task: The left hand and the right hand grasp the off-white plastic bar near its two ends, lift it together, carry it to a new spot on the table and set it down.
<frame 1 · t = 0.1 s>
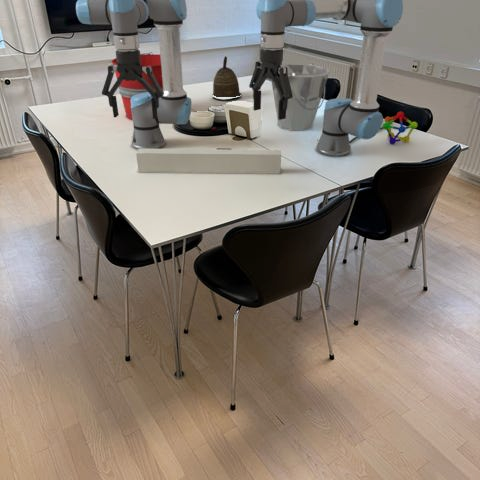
left hand: (135, 117, 150), 28 cm above the table, tool pointing down, fingers open, 13 cm apart
right hand: (269, 114, 154), 28 cm above the table, tool pointing down, fingers open, 13 cm apart
bell: (226, 97, 281), on the table
educational toy: (395, 143, 211), on the table
bucket 2: (148, 114, 248), on the table
smartphone: (223, 156, 195), on the table
bucket: (295, 125, 233), on the table
bar: (209, 170, 182), on the table
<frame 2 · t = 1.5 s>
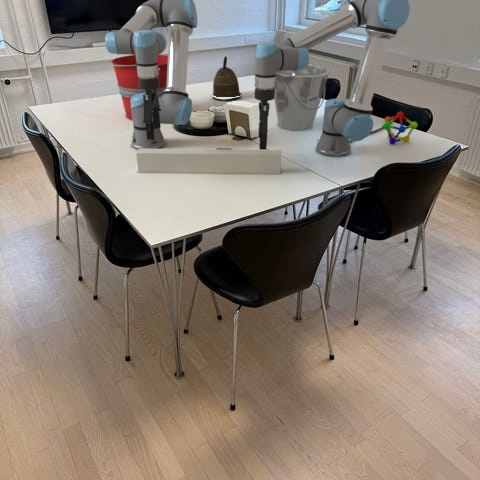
left hand: (154, 133, 174), 15 cm above the table, tool pointing down, fingers open, 13 cm apart
right hand: (262, 143, 175), 12 cm above the table, tool pointing down, fingers open, 13 cm apart
nothing on the table moved.
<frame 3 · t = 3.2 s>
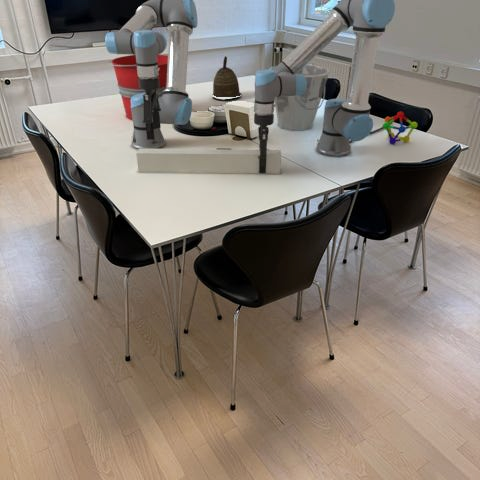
left hand: (154, 133, 174), 15 cm above the table, tool pointing down, fingers open, 13 cm apart
right hand: (262, 169, 181), 1 cm above the table, tool pointing down, fingers closed on bar, 5 cm apart
bar: (209, 170, 182), on the table, touching right hand
everything else where it was.
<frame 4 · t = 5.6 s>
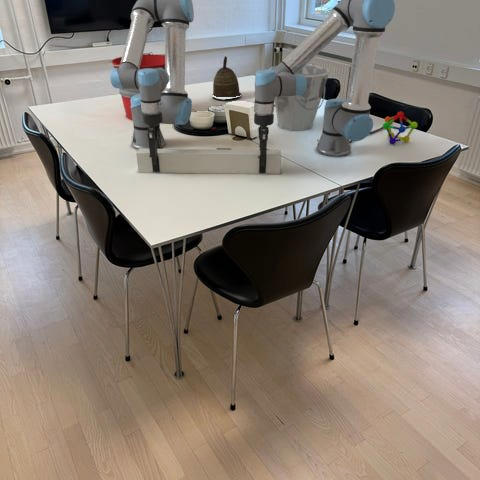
left hand: (157, 168, 182), 1 cm above the table, tool pointing down, fingers closed on bar, 5 cm apart
right hand: (262, 169, 181), 1 cm above the table, tool pointing down, fingers closed on bar, 5 cm apart
bar: (209, 170, 182), on the table, touching left hand, right hand
everything else where it was.
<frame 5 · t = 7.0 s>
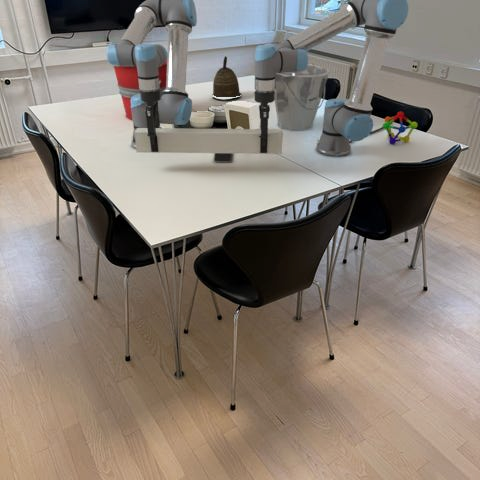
left hand: (156, 148, 177), 9 cm above the table, tool pointing down, fingers closed on bar, 5 cm apart
right hand: (263, 149, 177), 9 cm above the table, tool pointing down, fingers closed on bar, 5 cm apart
bar: (209, 150, 177), point 8 cm above the table, touching left hand, right hand
everything else where it was.
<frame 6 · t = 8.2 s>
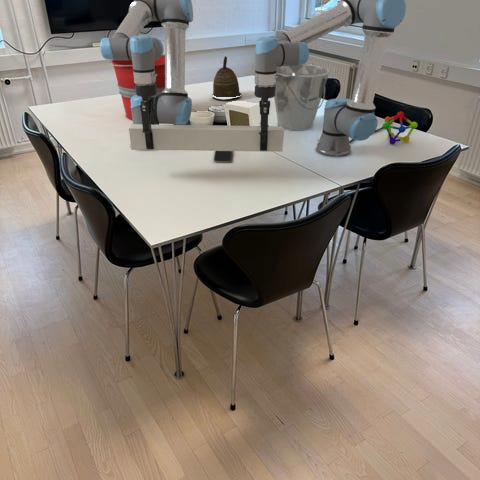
left hand: (151, 145, 170), 12 cm above the table, tool pointing down, fingers closed on bar, 5 cm apart
right hand: (263, 147, 170), 12 cm above the table, tool pointing down, fingers closed on bar, 5 cm apart
bar: (207, 148, 170), point 12 cm above the table, touching left hand, right hand
everything else where it was.
when the left hand's fingers open (2 cm above the table, at t = 10.7 s): bar drops 1 cm, on the table.
when the right hand's fingers open (2 cm above the table, at t = 10.7 s): bar drops 1 cm, on the table.
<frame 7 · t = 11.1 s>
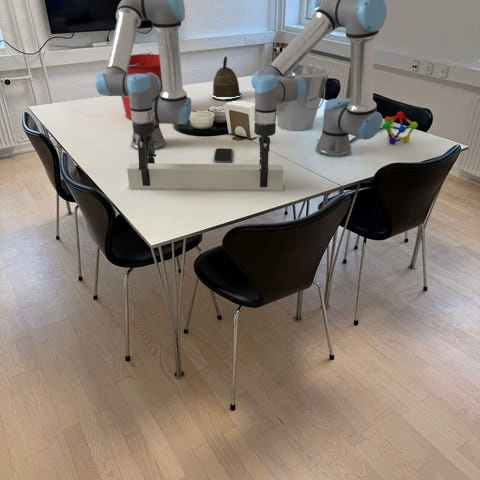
left hand: (149, 179, 167), 3 cm above the table, tool pointing down, fingers open, 10 cm apart
right hand: (263, 180, 167), 3 cm above the table, tool pointing down, fingers open, 10 cm apart
bar: (206, 186, 168), on the table
everything else where it was.
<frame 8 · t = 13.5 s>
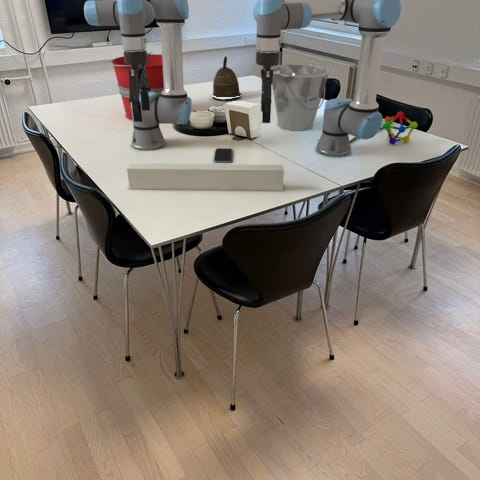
left hand: (142, 115, 154), 27 cm above the table, tool pointing down, fingers open, 13 cm apart
right hand: (265, 116, 154), 27 cm above the table, tool pointing down, fingers open, 13 cm apart
nothing on the table moved.
at the end: bar inside the target area (0.1 cm from its centre), on the table; bar tilted 0°; bar never tilted more than 1° during the clip; both hands held the bar at the same time; the left hand is holding nothing; the right hand is holding nothing; bar at rest at the end (0.0 cm/s) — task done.
